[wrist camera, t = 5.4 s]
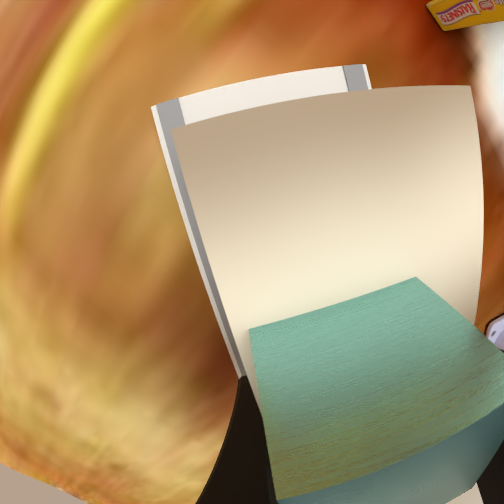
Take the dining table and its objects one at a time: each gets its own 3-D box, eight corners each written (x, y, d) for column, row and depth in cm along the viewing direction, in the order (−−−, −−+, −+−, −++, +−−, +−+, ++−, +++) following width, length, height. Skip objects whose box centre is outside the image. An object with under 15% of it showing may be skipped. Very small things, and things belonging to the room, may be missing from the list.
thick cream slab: (385, 389, 13) (430, 469, 8) (281, 421, 13) (301, 516, 8) (360, 103, 9) (470, 85, 4) (198, 136, 9) (171, 129, 4)
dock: (379, 335, 17) (394, 357, 15) (244, 374, 17) (247, 401, 15) (346, 71, 12) (366, 63, 10) (161, 110, 12) (150, 106, 10)
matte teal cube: (410, 390, 6) (471, 488, 3) (283, 433, 6) (311, 553, 3) (416, 276, 5) (532, 381, 2) (248, 328, 5) (276, 500, 2)
